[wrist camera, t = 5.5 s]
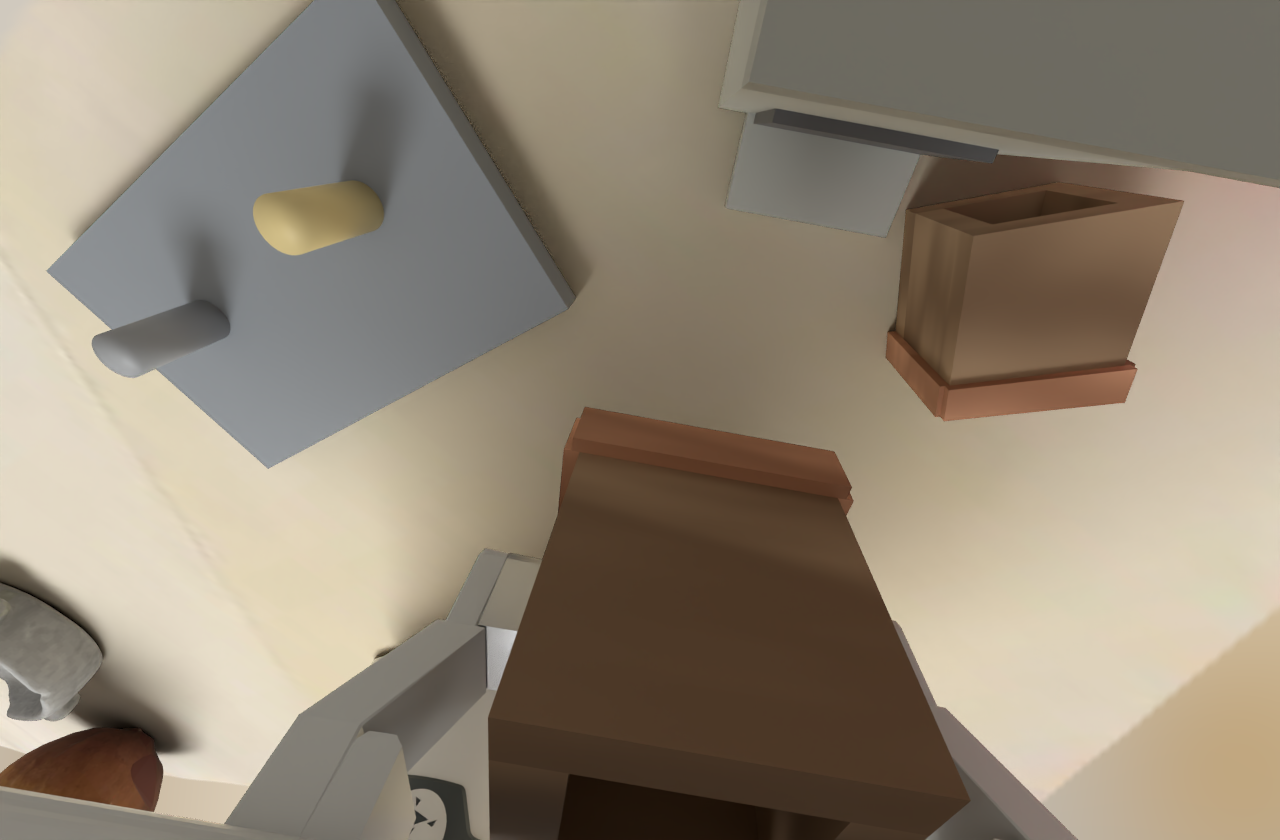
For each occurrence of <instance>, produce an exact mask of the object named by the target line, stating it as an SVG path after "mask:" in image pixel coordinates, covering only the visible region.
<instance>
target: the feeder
mask: <svg viewBox="0 0 1280 840" xmlns="http://www.w3.org/2000/svg"><path fill="white" fill-rule="evenodd" d="M718 108H723V109H728V110H733V111H739V112H744V113H746V116H745V120H744V124H743V129H742V133H741V137H740V141H739V146H738V150H737V154H736V159H735V163H734V167H733V171H732V176H731V180H730V184H729V189H728V193H727V197H726V202H725V208H727V209H732V210H737V211H743V212H748V213H754V214H759V215H764V216H770V217H775V218H781V219H786V220H791V221H797V222H802V223H808V224H813V225H818V226H824V227H829V228H835V229H840V230H845V231H851V232H856V233H862V234H867V235H872V236H878V237H883V238H886V236H887V234H888V231H889V229H890V227H891V224H892V222H893V219H894V217H895V215H896V212H897V210H898V207H899V205H900V203H901V200H902V198H903V196H904V193H905V191H906V188H907V186H908V184H909V181H910V179H911V176H912V174H913V172H914V169H915V167H916V164H917V162H918V160H919V157H920V155H928V156H936V157H944V158H952V159H961V160H969V161H977V162H985V163H993V161H994V159H995V157H996V155H997V154H1002V155H1013V156H1024V157H1035V158H1047V159H1058V160H1069V161H1081V162H1092V163H1103V164H1115V165H1126V166H1137V167H1148V168H1160V169H1171V170H1182V171H1191V172H1196V173H1201V174H1207V175H1212V176H1218V177H1223V178H1228V179H1234V180H1239V181H1245V182H1250V183H1255V184H1261V185H1266V186H1272V187H1277V188H1280V0H740V2H739V7H738V12H737V17H736V22H735V27H734V32H733V37H732V41H731V46H730V51H729V56H728V61H727V66H726V71H725V76H724V81H723V85H722V90H721V95H720V100H719V105H718Z"/></svg>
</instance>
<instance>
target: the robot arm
mask: <svg viewBox="0 0 1280 840" xmlns="http://www.w3.org/2000/svg"><path fill="white" fill-rule="evenodd" d="M541 562H542V559H538V558H533V557H528V556H523V555H518V554H514V553H507V552H502V551H497V550H492V549H487V548H485V549H484V550H483V551H482V552H481V553H480V554H479V556H478V558H477V560H476V562H475V564H474V565H473V567H472V569H471V571H470V573H469V575H468V577H467V579H466V581H465V583H464V585H463V587H462V589H461V591H460V593H459V595H458V597H457V599H456V601H455V603H454V605H453V607H452V609H451V611H450V613H449V615H448V617H447V619H446V620H441V619H437V620H436V621H434V622H433V623H431V624H430V625H428V626H427V627H425V628H424V629H423V630H421V631H420V632H418V633H417V634H415V635H414V636H412V637H411V638H409V639H408V640H407V641H405V642H404V643H402V644H401V645H399V646H398V647H396V648H395V649H394V650H392V651H391V652H389V653H388V654H386V655H385V656H382V657H379V658H376V659H375V660H374V661H373V662H372V664H371V665H370V666H369V667H367V668H366V669H365V670H363V671H362V672H360V673H359V674H357V675H356V676H354V677H353V678H352V679H350V680H349V681H347V682H346V683H344V684H343V685H341V686H340V687H339V688H337V689H336V690H334V691H333V692H331V693H330V694H328V695H327V696H325V697H324V698H323V699H321V700H320V701H318V702H317V703H315V704H314V705H312V706H311V707H310V708H308V709H307V710H305V711H304V712H302V713H301V714H299V715H298V717H297V718H296V720H295V721H294V723H293V724H292V726H291V727H290V729H289V730H288V731H287V733H286V734H285V736H284V737H283V739H282V740H281V742H280V743H279V745H278V746H277V748H276V749H275V750H274V752H273V753H272V755H271V756H270V758H269V759H268V761H267V762H266V764H265V765H264V766H263V768H262V769H261V771H260V772H259V774H258V775H257V777H256V778H255V780H254V781H253V782H252V784H251V785H250V787H249V788H248V790H247V791H246V793H245V794H244V796H243V797H242V799H241V800H240V801H239V803H238V804H237V806H236V807H235V809H234V810H233V812H232V813H231V815H230V816H229V817H228V819H227V821H226V822H225V823H224V824H220V823H215V822H209V821H203V820H197V819H191V818H185V817H180V816H174V815H168V814H162V813H156V812H150V811H144V810H138V809H132V808H127V807H121V806H115V805H109V804H103V803H97V802H91V801H85V800H80V799H74V798H68V797H62V796H56V795H50V794H44V793H38V792H33V791H27V790H21V789H15V788H9V787H3V786H0V840H490V830H489V760H488V715H489V712H490V710H491V707H492V704H493V701H494V698H495V695H496V692H497V689H498V686H499V684H500V681H501V678H502V675H503V672H504V669H505V666H506V663H507V660H508V657H509V655H510V652H511V649H512V646H513V643H514V640H515V637H516V634H517V631H518V629H519V626H520V623H521V620H522V617H523V614H524V611H525V608H526V605H527V602H528V600H529V597H530V594H531V591H532V588H533V585H534V582H535V579H536V576H537V574H538V571H539V568H540V565H541ZM892 622H893V624H894V627H895V629H896V631H897V633H898V636H899V638H900V640H901V643H902V645H903V647H904V649H905V652H906V654H907V656H908V658H909V661H910V663H911V665H912V668H913V670H914V672H915V674H916V677H917V679H918V681H919V684H920V686H921V688H922V690H923V693H924V695H925V697H926V700H927V702H928V704H929V706H930V709H931V711H932V713H933V715H934V718H935V720H936V722H937V725H938V727H939V729H940V731H941V734H942V736H943V738H944V741H945V743H946V745H947V747H948V750H949V752H950V754H951V756H952V759H953V761H954V763H955V766H956V768H957V770H958V772H959V775H960V777H961V779H962V782H963V784H964V786H965V788H966V791H967V793H968V795H969V798H970V800H971V801H970V802H969V803H968V804H967V805H965V806H964V807H963V808H962V809H961V810H960V811H958V812H957V813H956V814H955V815H954V816H952V817H951V818H950V819H949V820H948V821H947V822H945V823H944V824H943V825H942V826H941V827H939V828H938V829H937V830H936V831H935V832H934V833H932V834H931V835H930V836H929V837H928V838H927V839H925V840H1078V839H1077V838H1076V837H1075V836H1074V835H1072V834H1071V832H1070V831H1069V830H1067V828H1066V827H1065V826H1064V825H1063V824H1061V822H1060V821H1059V820H1058V819H1057V818H1056V817H1054V815H1052V813H1051V812H1049V810H1048V809H1046V807H1045V806H1044V805H1043V804H1042V803H1041V802H1040V801H1038V800H1037V799H1036V798H1035V797H1034V796H1033V795H1032V794H1031V793H1030V792H1029V791H1028V790H1027V789H1026V788H1025V787H1024V786H1023V785H1022V784H1021V783H1020V782H1019V781H1018V780H1017V779H1016V778H1015V777H1014V776H1013V775H1012V774H1011V773H1010V772H1009V771H1008V770H1007V769H1006V768H1005V767H1004V766H1003V765H1002V764H1001V763H1000V762H999V761H998V760H997V759H996V758H995V757H994V756H993V755H992V754H991V753H990V752H989V751H988V750H987V749H986V748H985V747H984V746H983V745H982V744H981V743H980V742H979V741H978V740H977V739H976V738H975V737H974V736H973V735H972V734H971V733H970V732H969V731H968V730H967V729H966V728H965V727H964V726H963V725H962V724H961V723H960V722H959V721H958V720H957V719H956V718H955V717H954V716H953V715H952V714H951V713H950V712H949V711H948V710H947V709H946V708H943V707H938V706H937V704H936V702H935V700H934V698H933V696H932V694H931V691H930V689H929V687H928V685H927V683H926V681H925V678H924V676H923V674H922V672H921V670H920V668H919V665H918V663H917V661H916V659H915V657H914V655H913V652H912V650H911V648H910V646H909V644H908V641H907V639H906V637H905V635H904V633H903V631H902V628H901V627H900V625H899V624H898V623H897V622H896V621H893V620H892Z"/></svg>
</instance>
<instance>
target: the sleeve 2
mask: <svg viewBox="0 0 1280 840" xmlns="http://www.w3.org/2000/svg"><path fill="white" fill-rule="evenodd" d="M1183 203H1184V201H1182V200H1175V199H1168V198H1162V197H1155V196H1148V195H1142V194H1135V193H1128V192H1122V191H1115V190H1108V189H1102V188H1095V187H1088V186H1082V185H1075V184H1068V183H1061V182H1057V183H1052V184H1046V185H1041V186H1035V187H1030V188H1024V189H1019V190H1013V191H1007V192H1002V193H996V194H991V195H985V196H980V197H974V198H969V199H963V200H958V201H952V202H947V203H941V204H935V205H930V206H924V207H919V208H913V209H908V210H906V216H905V227H904V239H903V250H902V261H901V273H900V284H899V296H898V307H897V318H896V330H895V331H890V332H888V336H887V349H886V358H887V360H888V361H889V362H890V363H891V364H892V366H893V367H894V368H895V369H896V370H897V372H898V373H899V374H900V375H901V376H902V378H903V379H904V380H905V381H906V382H907V384H908V385H909V386H910V387H911V388H912V390H913V391H914V392H915V393H916V394H917V396H918V397H919V398H920V399H921V400H922V402H923V403H924V404H925V405H926V406H927V408H928V409H929V410H930V411H931V412H932V414H933V415H934V416H935V417H941V418H942V419H943V421H950V420H959V419H969V418H979V417H989V416H998V415H1008V414H1018V413H1027V412H1037V411H1047V410H1057V409H1066V408H1076V407H1086V406H1096V405H1105V404H1115V403H1125V401H1126V398H1127V395H1128V393H1129V390H1130V387H1131V385H1132V382H1133V380H1134V377H1135V374H1136V372H1137V368H1135V364H1134V363H1132V362H1130V361H1129V360H1127V357H1128V354H1129V351H1130V349H1131V346H1132V343H1133V340H1134V338H1135V335H1136V332H1137V329H1138V327H1139V324H1140V321H1141V318H1142V316H1143V313H1144V310H1145V307H1146V305H1147V302H1148V299H1149V296H1150V294H1151V291H1152V288H1153V285H1154V283H1155V280H1156V277H1157V274H1158V272H1159V269H1160V266H1161V263H1162V261H1163V258H1164V255H1165V252H1166V250H1167V247H1168V244H1169V241H1170V239H1171V236H1172V233H1173V230H1174V228H1175V225H1176V222H1177V219H1178V217H1179V214H1180V211H1181V208H1182V206H1183Z"/></svg>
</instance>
